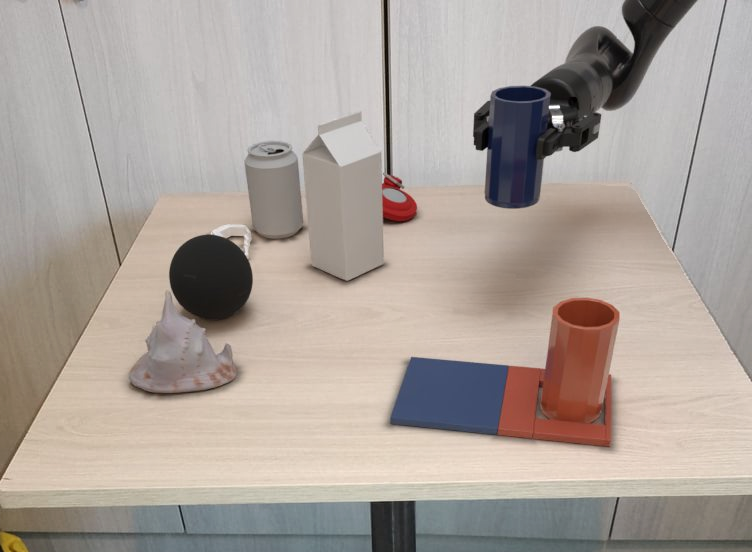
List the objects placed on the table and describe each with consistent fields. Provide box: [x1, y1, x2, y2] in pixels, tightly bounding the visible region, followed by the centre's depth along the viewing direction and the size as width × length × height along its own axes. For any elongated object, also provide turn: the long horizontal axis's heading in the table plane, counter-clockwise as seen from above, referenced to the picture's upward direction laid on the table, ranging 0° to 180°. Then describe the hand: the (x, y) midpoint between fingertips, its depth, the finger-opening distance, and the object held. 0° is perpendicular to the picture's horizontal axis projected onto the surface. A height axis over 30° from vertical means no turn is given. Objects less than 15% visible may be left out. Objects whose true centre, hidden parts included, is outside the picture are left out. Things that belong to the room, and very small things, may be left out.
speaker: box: [168, 234, 254, 321], centre depth 98 cm, size 10×10×10 cm
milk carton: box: [301, 110, 385, 282], centre depth 105 cm, size 7×7×19 cm
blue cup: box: [484, 85, 551, 210], centre depth 89 cm, size 6×6×11 cm
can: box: [244, 140, 304, 240], centre depth 117 cm, size 8×8×12 cm
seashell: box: [128, 289, 238, 394], centre depth 89 cm, size 10×12×9 cm
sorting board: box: [389, 356, 612, 447], centre depth 86 cm, size 22×12×1 cm, turn 77°
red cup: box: [539, 297, 621, 424], centre depth 81 cm, size 6×6×11 cm
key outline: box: [210, 223, 253, 260], centre depth 116 cm, size 13×5×2 cm, turn 23°
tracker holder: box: [382, 171, 418, 222], centre depth 124 cm, size 12×4×10 cm
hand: (509, 145), depth 87 cm, fingers closed on blue cup, 6 cm apart
